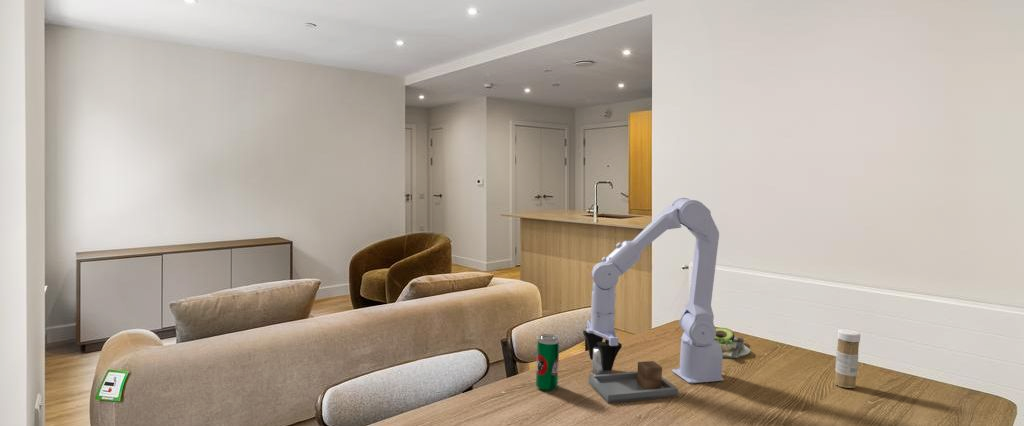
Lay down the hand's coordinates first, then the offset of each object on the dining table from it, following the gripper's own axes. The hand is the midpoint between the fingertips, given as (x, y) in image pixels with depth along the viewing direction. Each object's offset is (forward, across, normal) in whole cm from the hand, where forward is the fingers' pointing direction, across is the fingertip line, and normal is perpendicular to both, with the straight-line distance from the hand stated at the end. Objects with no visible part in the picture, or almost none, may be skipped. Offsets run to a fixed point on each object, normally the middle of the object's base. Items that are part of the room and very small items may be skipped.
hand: (600, 364), depth 131 cm
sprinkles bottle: (+2, +19, +55) cm, 58 cm away
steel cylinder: (+2, 0, 0) cm, 2 cm away
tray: (+2, +11, +3) cm, 12 cm away
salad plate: (+2, -11, +41) cm, 43 cm away
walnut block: (+1, +11, +7) cm, 13 cm away
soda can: (+2, +6, -16) cm, 17 cm away
